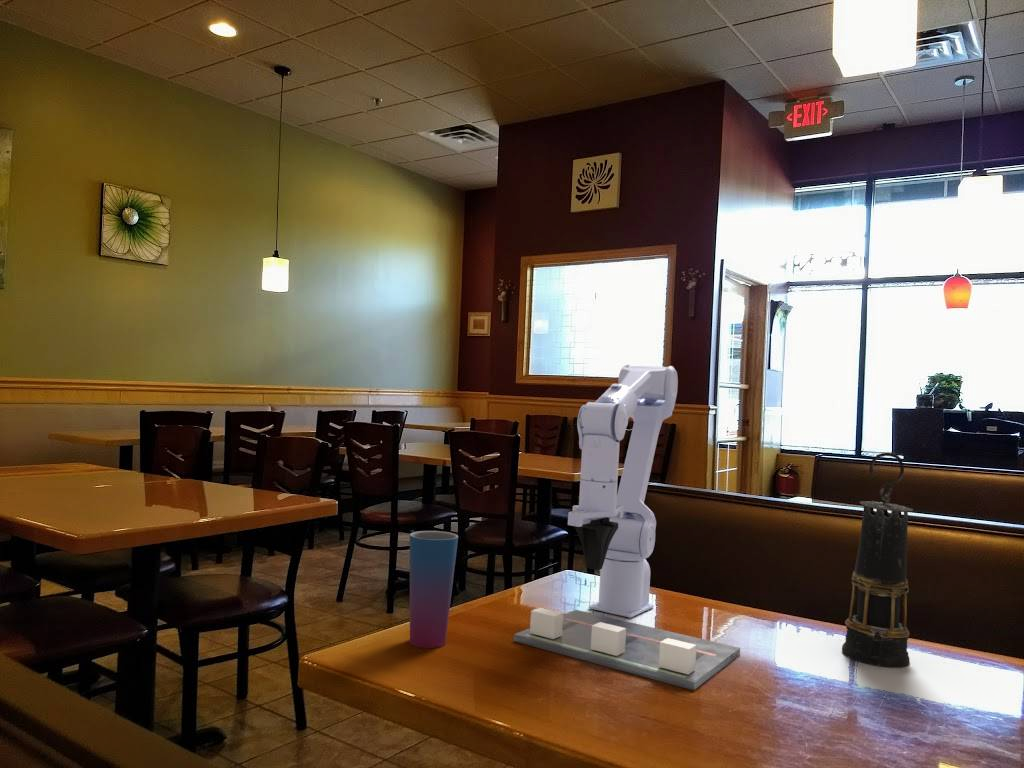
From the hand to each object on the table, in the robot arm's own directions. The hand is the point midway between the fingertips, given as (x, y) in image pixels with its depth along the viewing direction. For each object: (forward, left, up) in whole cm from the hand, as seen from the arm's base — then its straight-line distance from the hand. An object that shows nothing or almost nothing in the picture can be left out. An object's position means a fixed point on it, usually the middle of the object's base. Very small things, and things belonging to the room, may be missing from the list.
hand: (594, 568), depth 117 cm
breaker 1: (+10, -2, -8) cm, 13 cm away
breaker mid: (+10, +8, -8) cm, 15 cm away
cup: (+22, -14, -10) cm, 28 cm away
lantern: (-19, +37, -10) cm, 43 cm away
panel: (+4, +8, -9) cm, 13 cm away
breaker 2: (+10, +18, -8) cm, 22 cm away
